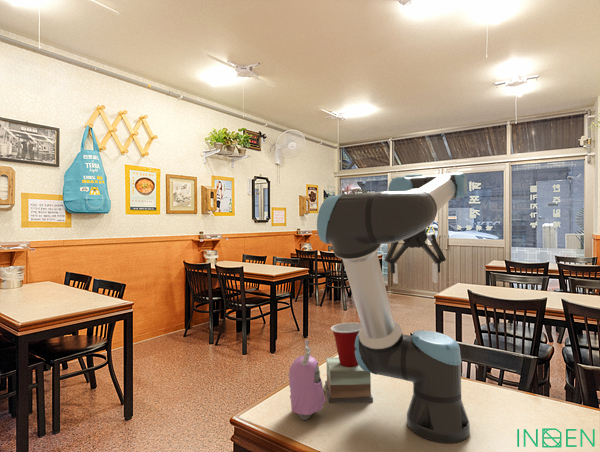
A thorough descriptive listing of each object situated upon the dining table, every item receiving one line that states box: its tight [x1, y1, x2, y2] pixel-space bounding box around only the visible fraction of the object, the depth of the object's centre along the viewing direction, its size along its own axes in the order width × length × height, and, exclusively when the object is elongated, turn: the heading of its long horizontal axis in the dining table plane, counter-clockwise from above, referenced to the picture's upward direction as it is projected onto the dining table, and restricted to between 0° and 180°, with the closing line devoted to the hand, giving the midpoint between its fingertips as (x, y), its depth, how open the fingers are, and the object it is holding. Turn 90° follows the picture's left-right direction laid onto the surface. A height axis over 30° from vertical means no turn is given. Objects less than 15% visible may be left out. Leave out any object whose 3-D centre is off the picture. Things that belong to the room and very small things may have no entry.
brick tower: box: [324, 356, 374, 404], centre depth 115 cm, size 13×13×9 cm
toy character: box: [288, 339, 327, 421], centre depth 102 cm, size 12×10×20 cm
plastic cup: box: [330, 322, 362, 367], centre depth 115 cm, size 11×11×12 cm
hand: (415, 282), depth 125 cm, fingers open, 13 cm apart
